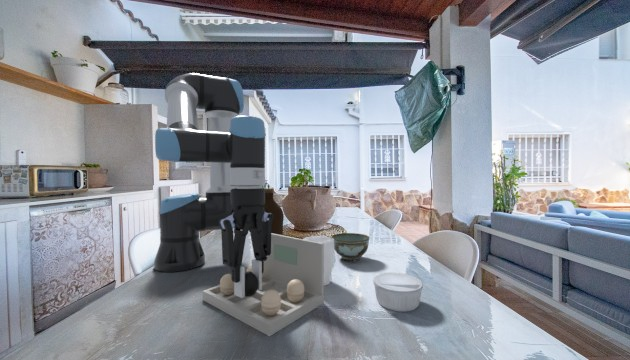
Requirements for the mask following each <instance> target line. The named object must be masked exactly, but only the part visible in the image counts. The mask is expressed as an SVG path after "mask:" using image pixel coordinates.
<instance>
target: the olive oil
mask: <svg viewBox="0 0 630 360" xmlns="http://www.w3.org/2000/svg"><path fill="white" fill-rule="evenodd" d="M264 190H265V204H264V205H263V208H264V210H265V212H266V213H271V214H273V215H274V217H273V220H272V227H271V233H273V234H278V235H283V236H284V211H283V209H282V207H281V206H280V205H279V204H278V203H277V202H276V201H275V200H274V189H273V188H264ZM261 221H262V220H261ZM254 259H256V258H255V257H254Z"/></svg>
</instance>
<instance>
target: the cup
mask: <svg viewBox="0 0 630 360" xmlns="http://www.w3.org/2000/svg"><path fill="white" fill-rule="evenodd" d="M302 239H304V240H309V241H314V242H319V243H324V287H325V286H328V285H329V284H330V283H331V279H332V278H331V277H332V270H333V264H334V256H335V249H334V239H333V238H332V236H331V237H330V236H325V235H310V236H305V237H303V238H302Z"/></svg>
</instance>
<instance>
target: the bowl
mask: <svg viewBox="0 0 630 360" xmlns="http://www.w3.org/2000/svg"><path fill="white" fill-rule="evenodd" d="M331 238H333V239H334V252H335V253H336V254H338V256H340V257H341V260H342V261H345V262H357V261H359V260H360V257H362V256H363V255H364V254H366V253H367V251H368V248H369V245H370V244H369V243H370V236H368V235H366V234H363V233H356V232H354V233H353V232H341V233H335V234H332V235H331Z"/></svg>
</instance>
